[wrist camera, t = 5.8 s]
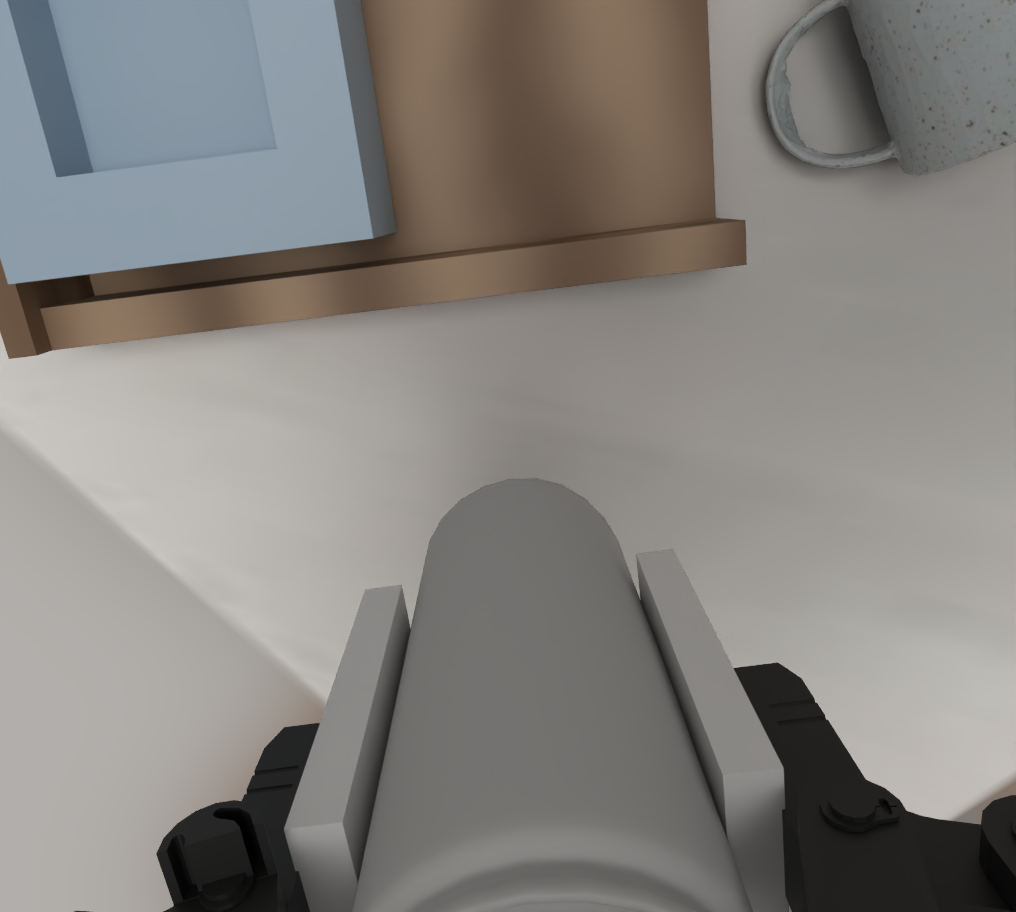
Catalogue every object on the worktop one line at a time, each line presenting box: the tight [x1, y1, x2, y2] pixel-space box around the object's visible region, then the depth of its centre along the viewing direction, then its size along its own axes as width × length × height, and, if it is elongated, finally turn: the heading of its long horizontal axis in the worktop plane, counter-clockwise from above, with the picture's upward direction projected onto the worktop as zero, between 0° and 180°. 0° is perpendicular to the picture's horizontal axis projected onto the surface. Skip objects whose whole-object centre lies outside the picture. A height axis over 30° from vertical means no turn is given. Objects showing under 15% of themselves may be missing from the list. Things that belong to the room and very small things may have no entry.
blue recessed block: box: [0, 0, 397, 284], centre depth 26 cm, size 12×13×6 cm
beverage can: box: [352, 479, 753, 912], centre depth 14 cm, size 5×5×12 cm
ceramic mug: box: [765, 0, 1016, 175], centre depth 27 cm, size 11×8×8 cm
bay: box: [0, 0, 747, 359], centre depth 27 cm, size 26×18×6 cm
